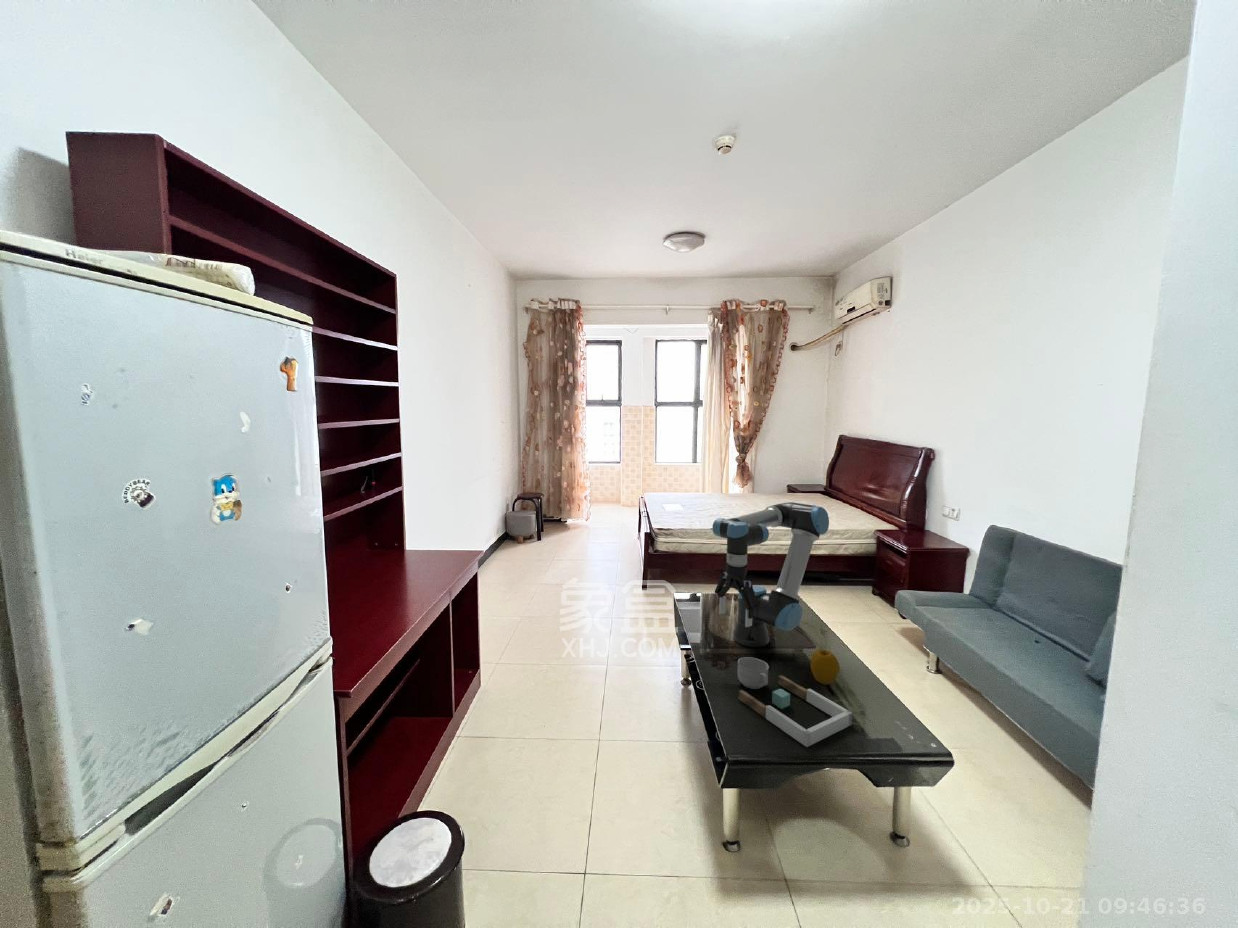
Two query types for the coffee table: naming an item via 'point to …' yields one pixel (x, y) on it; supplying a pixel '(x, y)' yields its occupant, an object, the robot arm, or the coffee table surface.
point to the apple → (824, 666)
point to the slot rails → (761, 707)
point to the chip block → (781, 698)
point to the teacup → (753, 672)
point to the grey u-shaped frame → (819, 731)
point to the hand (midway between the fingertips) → (735, 619)
